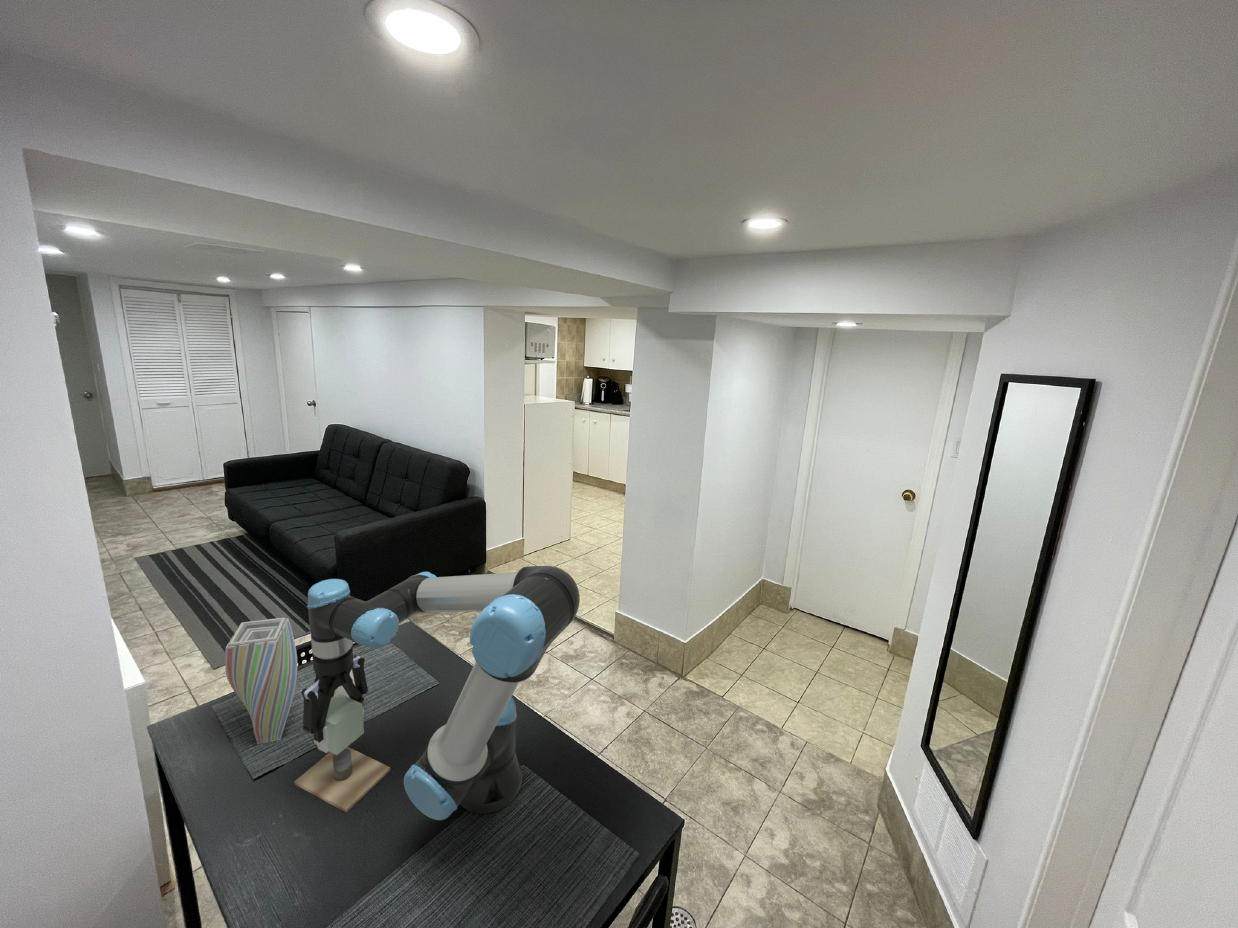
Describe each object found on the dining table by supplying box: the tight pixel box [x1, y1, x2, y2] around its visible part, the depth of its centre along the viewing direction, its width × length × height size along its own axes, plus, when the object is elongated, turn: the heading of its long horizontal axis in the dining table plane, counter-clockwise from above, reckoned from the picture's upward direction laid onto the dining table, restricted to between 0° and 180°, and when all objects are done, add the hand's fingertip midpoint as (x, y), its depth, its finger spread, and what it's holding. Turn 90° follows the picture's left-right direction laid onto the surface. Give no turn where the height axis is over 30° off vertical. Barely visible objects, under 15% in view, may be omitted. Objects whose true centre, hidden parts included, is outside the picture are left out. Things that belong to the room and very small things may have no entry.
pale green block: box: [313, 694, 365, 755], centre depth 111 cm, size 7×7×8 cm
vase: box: [224, 617, 298, 745], centre depth 121 cm, size 14×14×30 cm
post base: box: [293, 746, 391, 814], centre depth 114 cm, size 16×12×6 cm
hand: (339, 736), depth 112 cm, fingers closed on pale green block, 7 cm apart
